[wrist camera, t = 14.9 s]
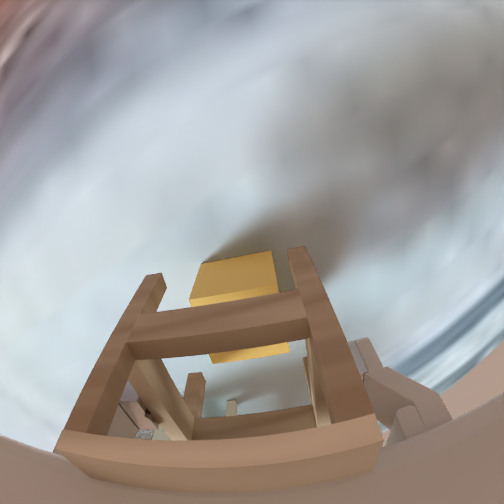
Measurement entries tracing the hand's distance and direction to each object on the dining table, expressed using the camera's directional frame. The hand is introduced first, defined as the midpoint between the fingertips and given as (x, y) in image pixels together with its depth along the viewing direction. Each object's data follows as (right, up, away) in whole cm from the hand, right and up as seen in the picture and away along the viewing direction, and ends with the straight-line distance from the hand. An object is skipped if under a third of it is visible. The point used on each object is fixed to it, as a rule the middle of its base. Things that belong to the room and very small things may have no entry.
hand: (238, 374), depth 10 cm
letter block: (0, +2, +7) cm, 8 cm away
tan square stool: (0, +1, +3) cm, 3 cm away
